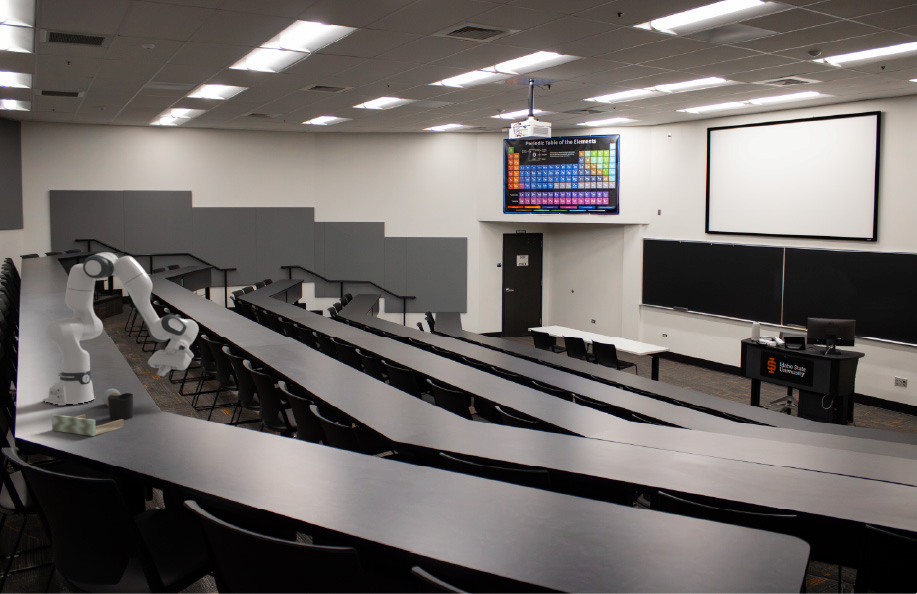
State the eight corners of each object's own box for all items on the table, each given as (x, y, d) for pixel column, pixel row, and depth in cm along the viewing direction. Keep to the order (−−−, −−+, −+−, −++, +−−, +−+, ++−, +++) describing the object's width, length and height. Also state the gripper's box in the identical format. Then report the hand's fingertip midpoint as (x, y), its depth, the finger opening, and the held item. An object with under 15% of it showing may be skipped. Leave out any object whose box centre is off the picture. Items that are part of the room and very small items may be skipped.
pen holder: (127, 422, 284) (126, 398, 283) (104, 422, 284) (103, 398, 283) (138, 416, 293) (137, 393, 292) (116, 415, 294) (115, 392, 293)
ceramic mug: (106, 410, 305) (106, 393, 305) (102, 406, 312) (101, 389, 311) (132, 406, 312) (131, 389, 311) (127, 402, 318) (126, 386, 318)
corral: (52, 430, 270) (51, 415, 270) (84, 421, 284) (83, 407, 284) (93, 435, 263) (92, 420, 263) (123, 426, 277) (123, 412, 276)
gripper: (154, 345, 318) (138, 369, 310) (189, 347, 311) (174, 372, 302) (161, 353, 323) (146, 377, 314) (197, 356, 315) (181, 380, 307)
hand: (160, 375), depth 308 cm, fingers closed
